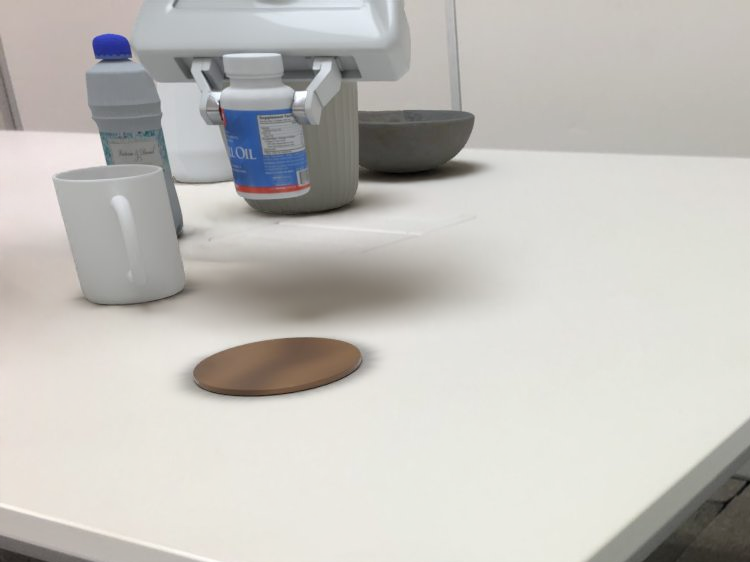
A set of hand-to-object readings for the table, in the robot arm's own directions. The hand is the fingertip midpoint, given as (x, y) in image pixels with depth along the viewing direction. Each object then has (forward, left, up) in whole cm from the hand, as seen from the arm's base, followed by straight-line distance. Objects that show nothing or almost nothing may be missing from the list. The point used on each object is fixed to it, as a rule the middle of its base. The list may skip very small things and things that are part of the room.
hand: (259, 119), depth 73 cm
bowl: (+8, +73, -15) cm, 75 cm away
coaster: (0, -12, -15) cm, 19 cm away
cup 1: (-14, +10, -15) cm, 23 cm away
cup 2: (-19, +76, -15) cm, 80 cm away
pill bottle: (0, +1, -6) cm, 6 cm away
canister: (-4, +49, -15) cm, 52 cm away
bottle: (-18, +35, -15) cm, 42 cm away
